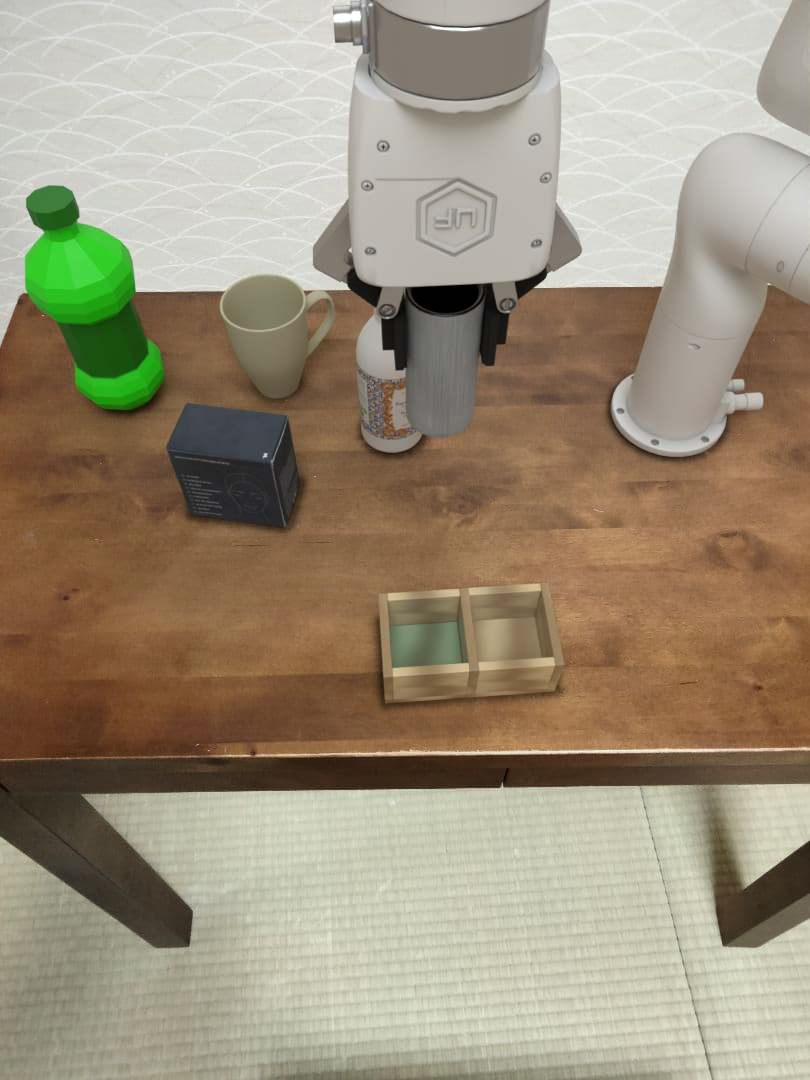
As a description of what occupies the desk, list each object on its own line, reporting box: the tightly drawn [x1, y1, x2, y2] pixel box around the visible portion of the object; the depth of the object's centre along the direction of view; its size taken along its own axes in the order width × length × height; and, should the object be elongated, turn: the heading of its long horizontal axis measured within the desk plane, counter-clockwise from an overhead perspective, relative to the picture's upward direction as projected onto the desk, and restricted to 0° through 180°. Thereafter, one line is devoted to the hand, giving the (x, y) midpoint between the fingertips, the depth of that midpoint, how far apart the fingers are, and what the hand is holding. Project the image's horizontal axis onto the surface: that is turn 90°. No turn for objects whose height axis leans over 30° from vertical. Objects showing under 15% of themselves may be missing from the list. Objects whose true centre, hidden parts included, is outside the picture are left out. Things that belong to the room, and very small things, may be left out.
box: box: [165, 402, 301, 528], centre depth 82 cm, size 11×7×10 cm, turn 80°
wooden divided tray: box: [377, 582, 565, 704], centre depth 73 cm, size 15×8×6 cm, turn 94°
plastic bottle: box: [24, 184, 165, 411], centre depth 84 cm, size 10×10×25 cm
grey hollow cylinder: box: [405, 283, 485, 439], centre depth 50 cm, size 4×4×10 cm
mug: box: [219, 273, 336, 400], centre depth 90 cm, size 11×10×12 cm
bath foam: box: [355, 290, 423, 454], centre depth 83 cm, size 7×7×20 cm
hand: (442, 349), depth 50 cm, fingers closed on grey hollow cylinder, 4 cm apart
